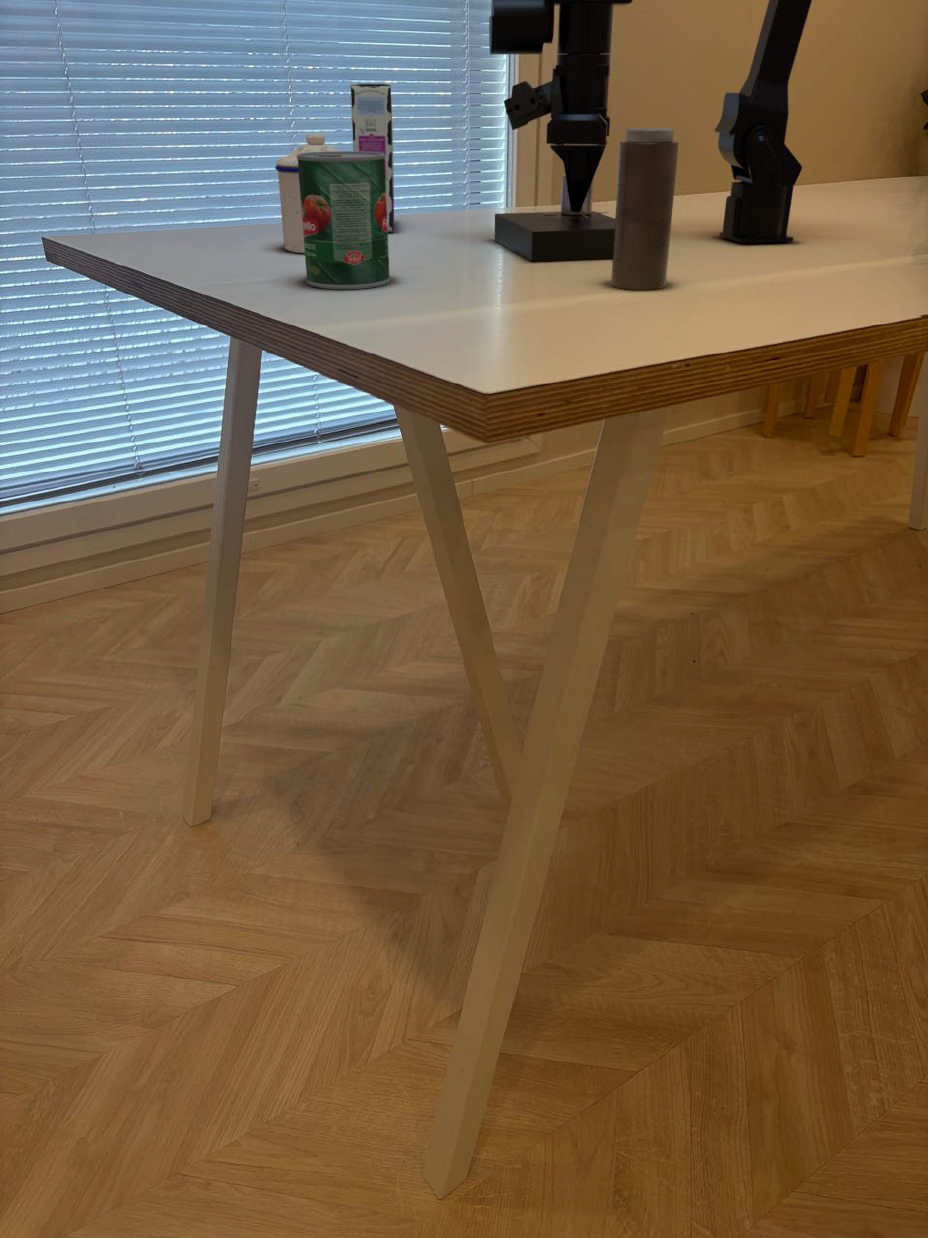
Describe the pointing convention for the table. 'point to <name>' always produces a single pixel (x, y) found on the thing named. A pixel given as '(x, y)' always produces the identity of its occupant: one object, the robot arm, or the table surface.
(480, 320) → the table surface
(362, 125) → the candy bar box
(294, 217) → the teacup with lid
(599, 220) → the stove
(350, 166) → the canned tomato
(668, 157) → the salt mill
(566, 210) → the knob
